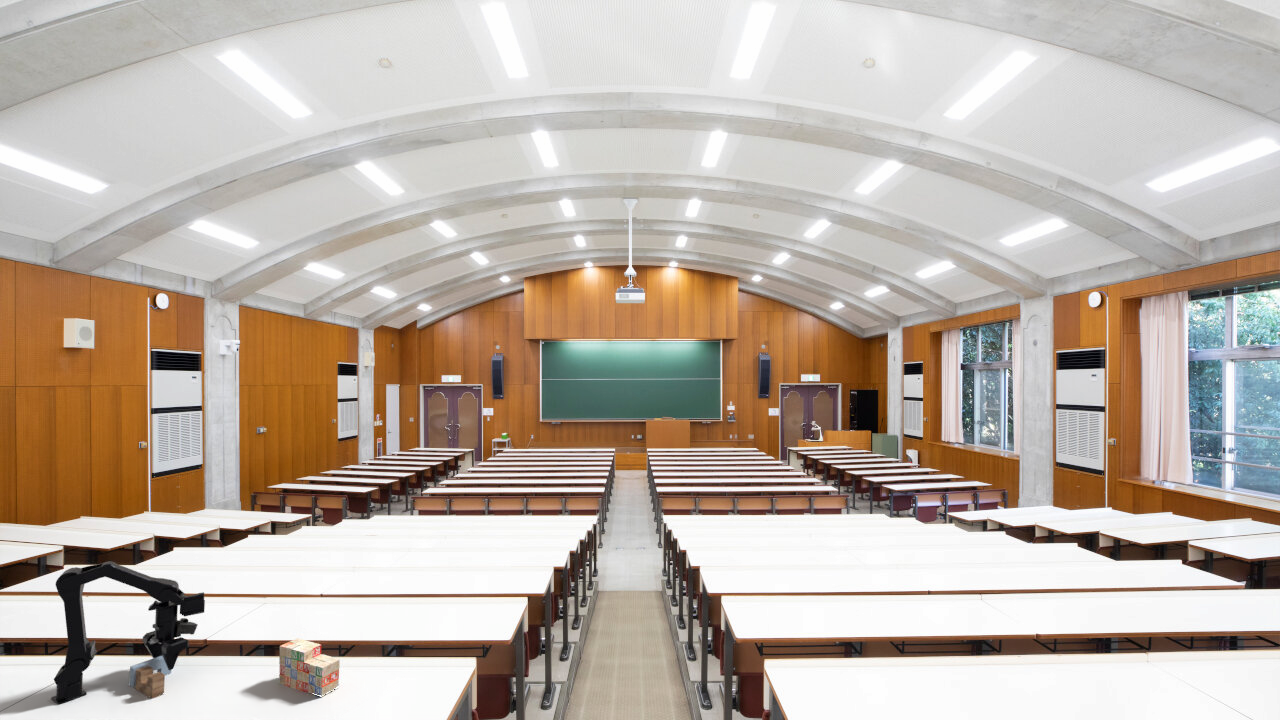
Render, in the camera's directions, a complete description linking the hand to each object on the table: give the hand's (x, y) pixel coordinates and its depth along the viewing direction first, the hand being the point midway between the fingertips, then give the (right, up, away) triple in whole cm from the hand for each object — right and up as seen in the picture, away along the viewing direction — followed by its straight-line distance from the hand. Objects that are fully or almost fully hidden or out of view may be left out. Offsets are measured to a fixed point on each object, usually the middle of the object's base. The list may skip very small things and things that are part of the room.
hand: (164, 666), depth 186 cm
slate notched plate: (-2, -2, -3) cm, 5 cm away
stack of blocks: (+54, -2, -8) cm, 54 cm away
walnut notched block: (+4, -2, -11) cm, 12 cm away
